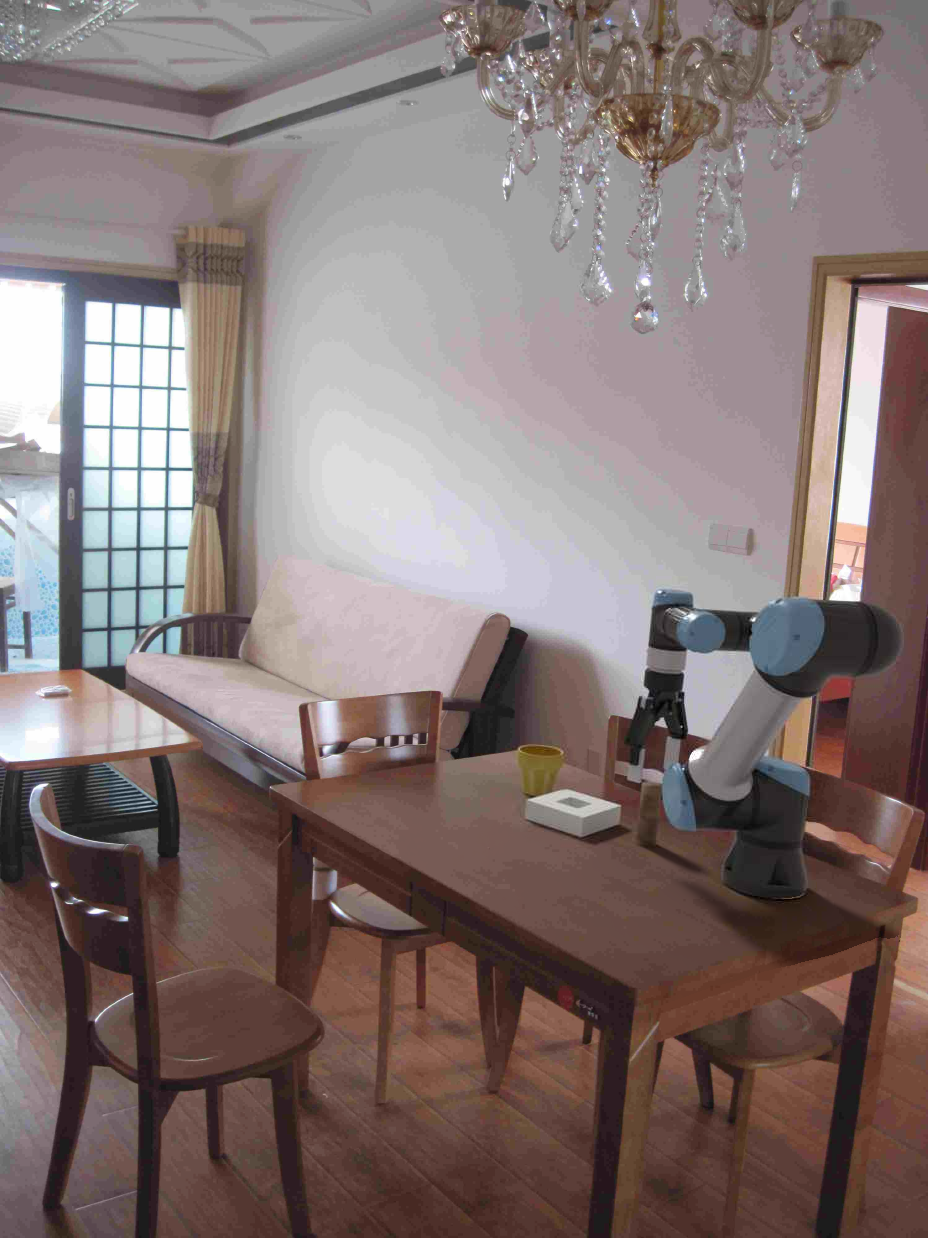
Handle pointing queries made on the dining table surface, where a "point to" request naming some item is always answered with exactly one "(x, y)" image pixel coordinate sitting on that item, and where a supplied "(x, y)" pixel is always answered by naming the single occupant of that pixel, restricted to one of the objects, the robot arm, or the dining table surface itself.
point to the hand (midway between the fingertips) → (652, 775)
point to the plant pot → (539, 768)
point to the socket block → (572, 812)
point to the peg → (648, 814)
